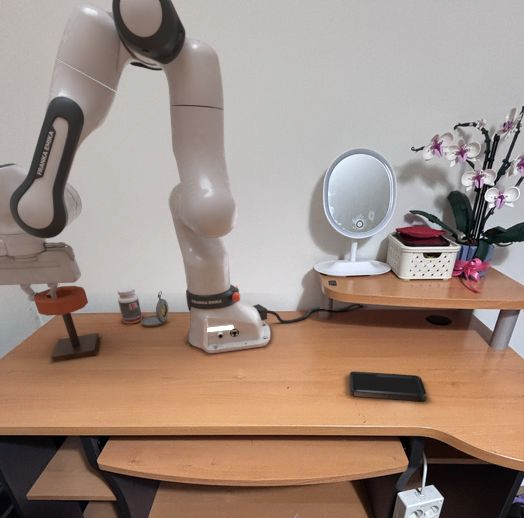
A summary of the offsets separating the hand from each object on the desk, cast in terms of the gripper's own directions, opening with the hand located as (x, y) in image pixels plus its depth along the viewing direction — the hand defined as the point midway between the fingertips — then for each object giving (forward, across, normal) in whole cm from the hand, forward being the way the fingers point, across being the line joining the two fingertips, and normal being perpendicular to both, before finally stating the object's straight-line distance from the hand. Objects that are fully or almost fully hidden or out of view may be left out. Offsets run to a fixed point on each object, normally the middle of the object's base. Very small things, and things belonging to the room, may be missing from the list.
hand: (44, 300), depth 93 cm
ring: (+2, -4, 0) cm, 5 cm away
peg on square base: (+14, -4, 0) cm, 15 cm away
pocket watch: (+14, -22, -14) cm, 30 cm away
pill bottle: (+14, -14, -17) cm, 26 cm away
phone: (+14, -79, +23) cm, 84 cm away
